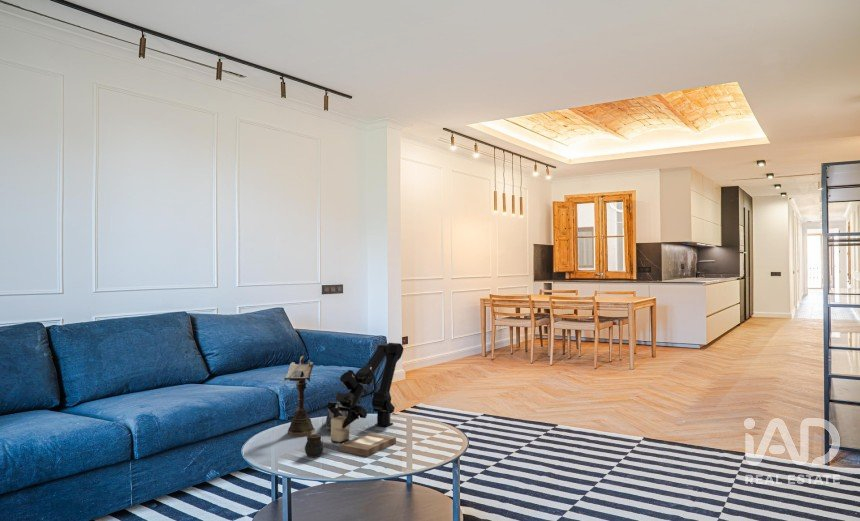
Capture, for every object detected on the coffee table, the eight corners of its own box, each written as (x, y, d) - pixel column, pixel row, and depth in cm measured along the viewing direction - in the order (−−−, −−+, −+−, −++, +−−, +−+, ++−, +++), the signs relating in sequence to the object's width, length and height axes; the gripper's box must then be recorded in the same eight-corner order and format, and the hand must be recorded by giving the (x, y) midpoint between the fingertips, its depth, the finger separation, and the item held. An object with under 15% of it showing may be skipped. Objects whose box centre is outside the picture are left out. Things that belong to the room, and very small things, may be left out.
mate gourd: (321, 458, 229) (321, 433, 229) (302, 458, 229) (302, 433, 229) (324, 452, 236) (324, 428, 236) (306, 452, 236) (306, 428, 236)
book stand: (310, 440, 254) (309, 358, 254) (280, 439, 255) (280, 358, 255) (321, 429, 270) (321, 353, 271) (293, 429, 271) (293, 353, 272)
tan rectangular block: (340, 438, 255) (340, 415, 255) (349, 440, 253) (349, 417, 253) (331, 442, 250) (330, 418, 250) (340, 444, 247) (340, 420, 248)
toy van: (354, 418, 291) (354, 397, 292) (348, 431, 267) (348, 409, 267) (333, 418, 291) (333, 398, 291) (325, 432, 266) (325, 410, 267)
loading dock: (369, 438, 256) (369, 432, 256) (396, 443, 249) (396, 436, 249) (339, 450, 239) (339, 444, 239) (367, 456, 231) (367, 449, 232)
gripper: (329, 383, 260) (312, 413, 250) (363, 387, 250) (346, 419, 241) (340, 397, 266) (324, 427, 257) (374, 402, 257) (358, 433, 247)
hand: (338, 426), depth 250 cm, fingers closed on tan rectangular block, 5 cm apart
